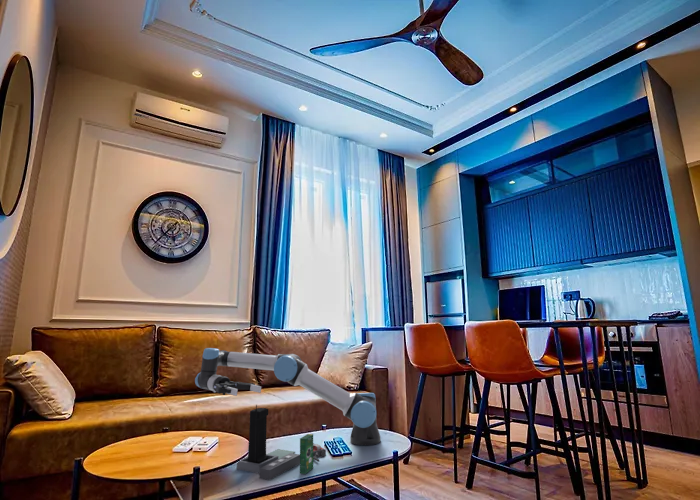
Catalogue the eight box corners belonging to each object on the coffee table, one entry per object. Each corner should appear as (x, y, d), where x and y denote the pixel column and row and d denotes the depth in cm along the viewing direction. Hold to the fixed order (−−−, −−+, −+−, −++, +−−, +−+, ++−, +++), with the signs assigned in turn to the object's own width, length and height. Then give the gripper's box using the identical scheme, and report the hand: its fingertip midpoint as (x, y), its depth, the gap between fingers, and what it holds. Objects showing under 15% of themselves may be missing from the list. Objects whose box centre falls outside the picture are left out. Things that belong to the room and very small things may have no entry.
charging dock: (300, 463, 164) (300, 453, 165) (269, 480, 147) (269, 469, 147) (262, 457, 173) (262, 448, 174) (229, 472, 156) (229, 462, 157)
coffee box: (307, 467, 160) (307, 433, 162) (314, 467, 159) (313, 433, 161) (299, 474, 152) (299, 438, 155) (305, 474, 151) (305, 438, 154)
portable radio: (257, 462, 167) (258, 401, 171) (269, 464, 164) (270, 401, 169) (246, 468, 159) (247, 404, 164) (258, 470, 157) (259, 405, 162)
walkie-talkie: (297, 452, 180) (316, 465, 163) (297, 442, 180) (316, 453, 164) (314, 449, 184) (334, 460, 167) (314, 439, 185) (334, 449, 168)
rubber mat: (295, 452, 178) (295, 451, 178) (278, 460, 168) (278, 459, 168) (278, 450, 183) (278, 449, 183) (261, 457, 172) (261, 456, 172)
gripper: (239, 389, 194) (268, 396, 182) (195, 394, 174) (224, 403, 162) (241, 374, 196) (270, 380, 183) (197, 377, 176) (226, 384, 163)
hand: (249, 391), depth 173 cm, fingers open, 13 cm apart
